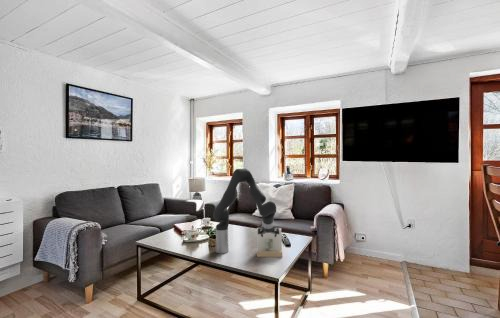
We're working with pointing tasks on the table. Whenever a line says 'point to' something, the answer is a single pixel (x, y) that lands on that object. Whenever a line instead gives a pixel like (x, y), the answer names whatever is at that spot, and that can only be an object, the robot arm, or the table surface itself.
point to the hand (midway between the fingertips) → (268, 235)
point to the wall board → (276, 245)
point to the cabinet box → (269, 244)
